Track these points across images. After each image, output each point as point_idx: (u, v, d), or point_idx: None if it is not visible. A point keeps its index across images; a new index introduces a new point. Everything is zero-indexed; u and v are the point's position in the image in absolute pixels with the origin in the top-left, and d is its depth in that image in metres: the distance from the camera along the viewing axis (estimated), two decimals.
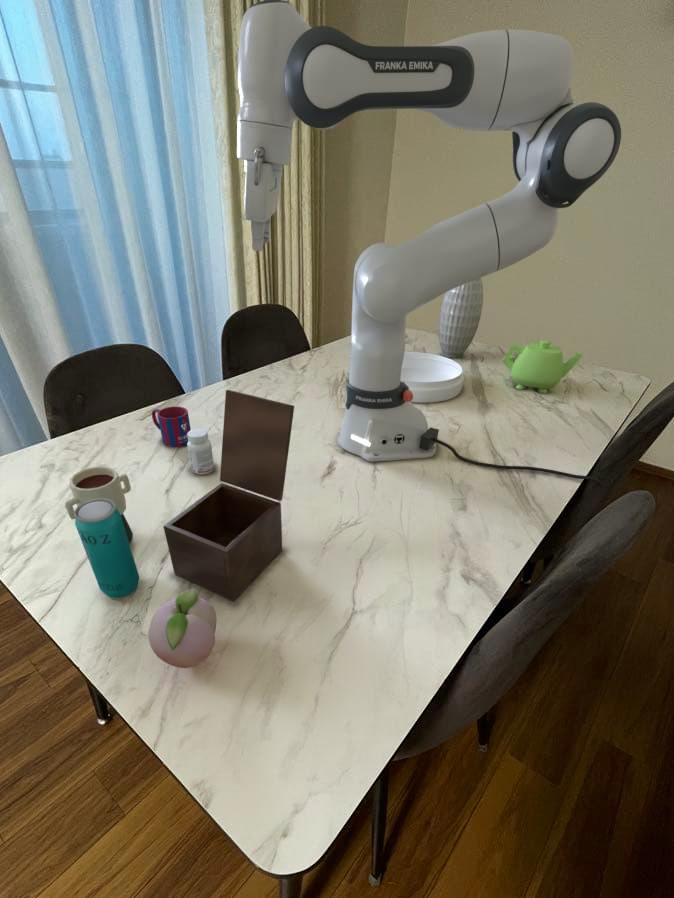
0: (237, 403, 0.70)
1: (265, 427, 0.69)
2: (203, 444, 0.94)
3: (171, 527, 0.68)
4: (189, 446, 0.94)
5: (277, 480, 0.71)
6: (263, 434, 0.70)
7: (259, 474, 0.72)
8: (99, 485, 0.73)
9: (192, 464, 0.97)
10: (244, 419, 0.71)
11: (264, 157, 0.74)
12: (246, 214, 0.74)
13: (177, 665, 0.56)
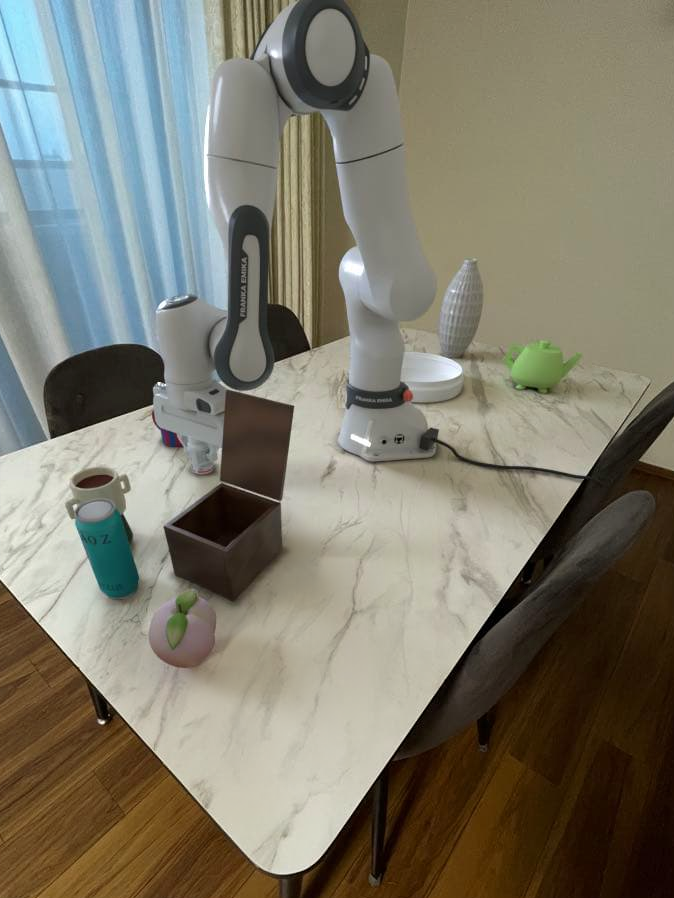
0: (237, 403, 0.70)
1: (265, 427, 0.69)
2: (203, 444, 0.94)
3: (171, 527, 0.68)
4: (189, 446, 0.94)
5: (277, 480, 0.71)
6: (263, 434, 0.70)
7: (259, 474, 0.72)
8: (99, 485, 0.73)
9: (192, 464, 0.97)
10: (244, 419, 0.71)
11: None
12: None
13: (177, 665, 0.56)
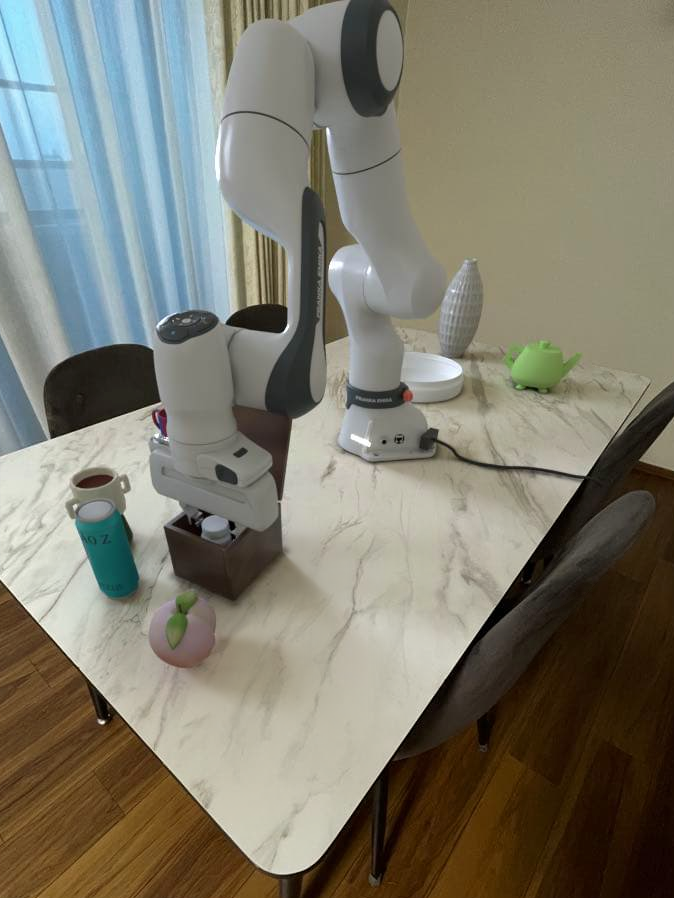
0: None
1: (265, 427, 0.69)
2: (223, 538, 0.70)
3: (171, 527, 0.68)
4: None
5: (277, 480, 0.71)
6: (263, 434, 0.70)
7: None
8: (99, 485, 0.73)
9: None
10: (244, 419, 0.71)
11: None
12: None
13: (177, 665, 0.56)
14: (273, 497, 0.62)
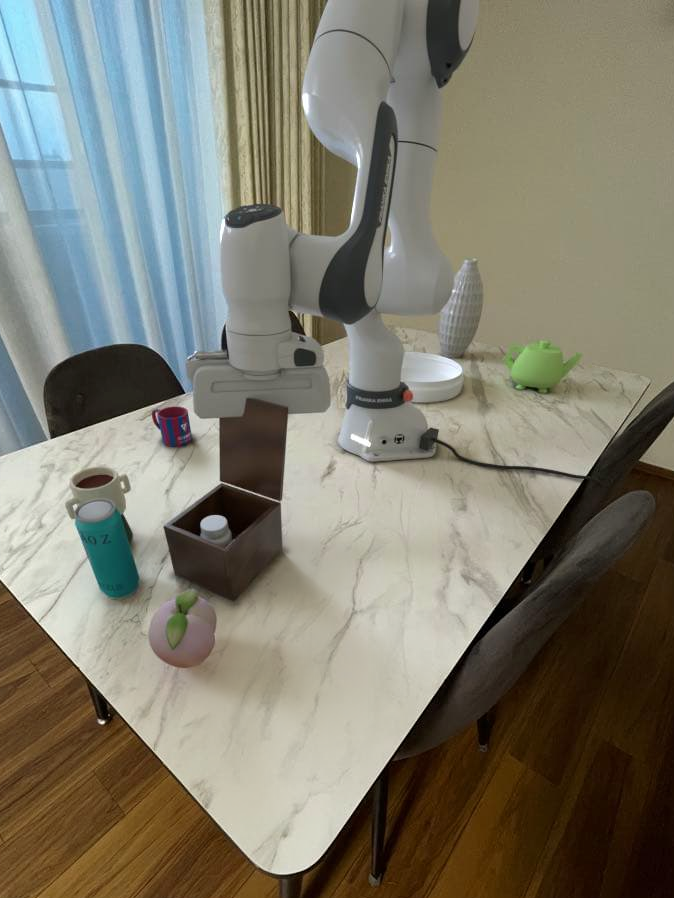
0: None
1: (260, 428, 0.68)
2: (222, 537, 0.70)
3: (171, 527, 0.68)
4: None
5: (276, 481, 0.71)
6: (259, 436, 0.69)
7: (258, 475, 0.72)
8: (99, 485, 0.73)
9: None
10: (239, 421, 0.70)
11: (229, 359, 0.65)
12: None
13: (177, 665, 0.56)
14: None
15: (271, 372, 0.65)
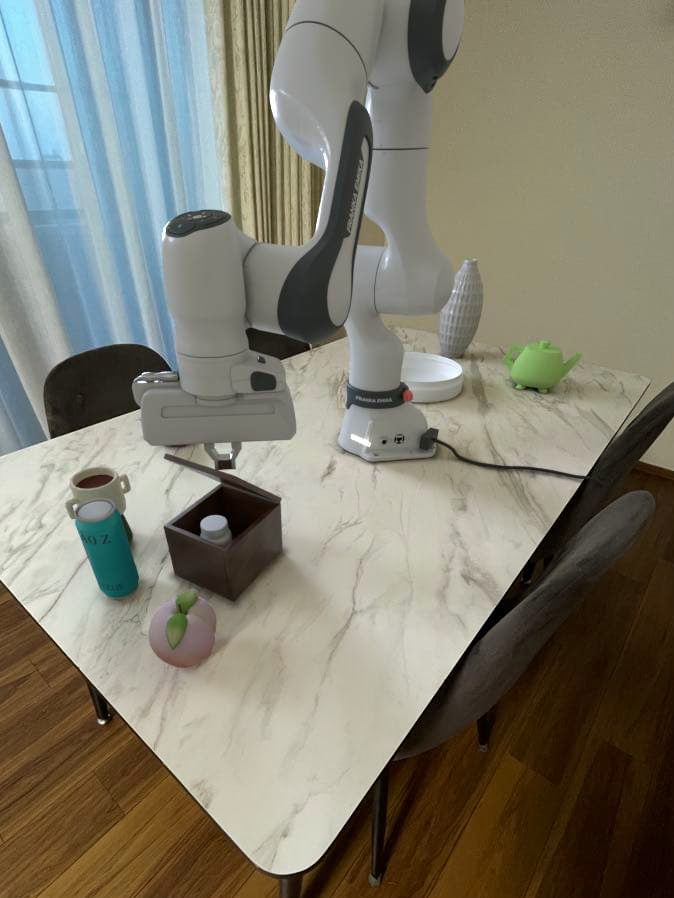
0: (183, 465, 0.64)
1: (223, 480, 0.64)
2: (222, 537, 0.70)
3: (171, 527, 0.68)
4: None
5: (266, 497, 0.70)
6: (227, 482, 0.65)
7: None
8: (99, 485, 0.73)
9: None
10: (200, 472, 0.65)
11: (180, 381, 0.58)
12: None
13: (177, 665, 0.56)
14: None
15: (226, 397, 0.58)
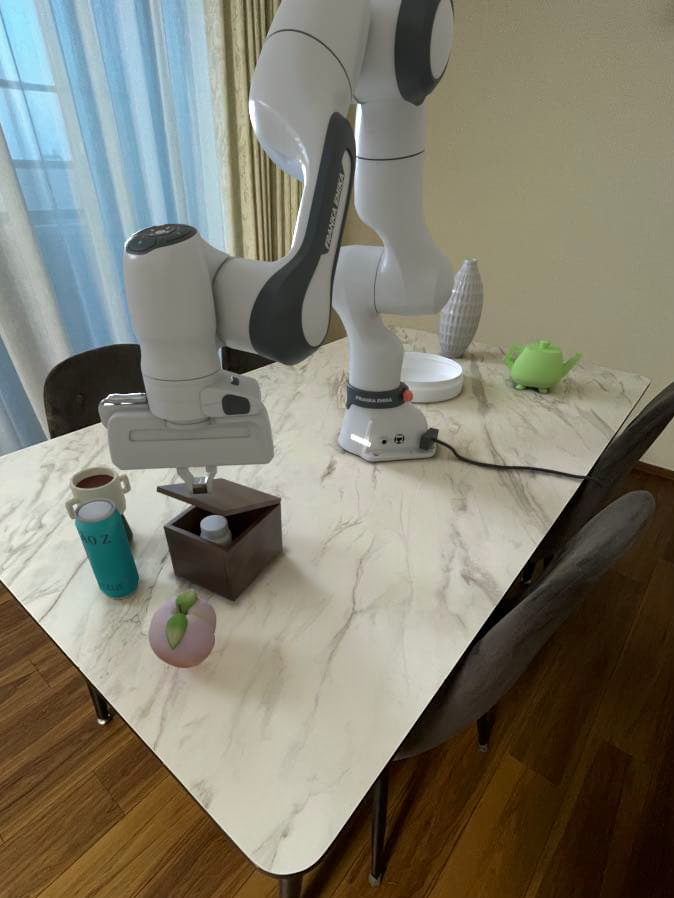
0: None
1: None
2: (222, 537, 0.70)
3: (171, 527, 0.68)
4: None
5: None
6: None
7: None
8: (99, 485, 0.73)
9: None
10: None
11: (148, 404, 0.55)
12: None
13: (177, 665, 0.56)
14: None
15: (197, 420, 0.54)
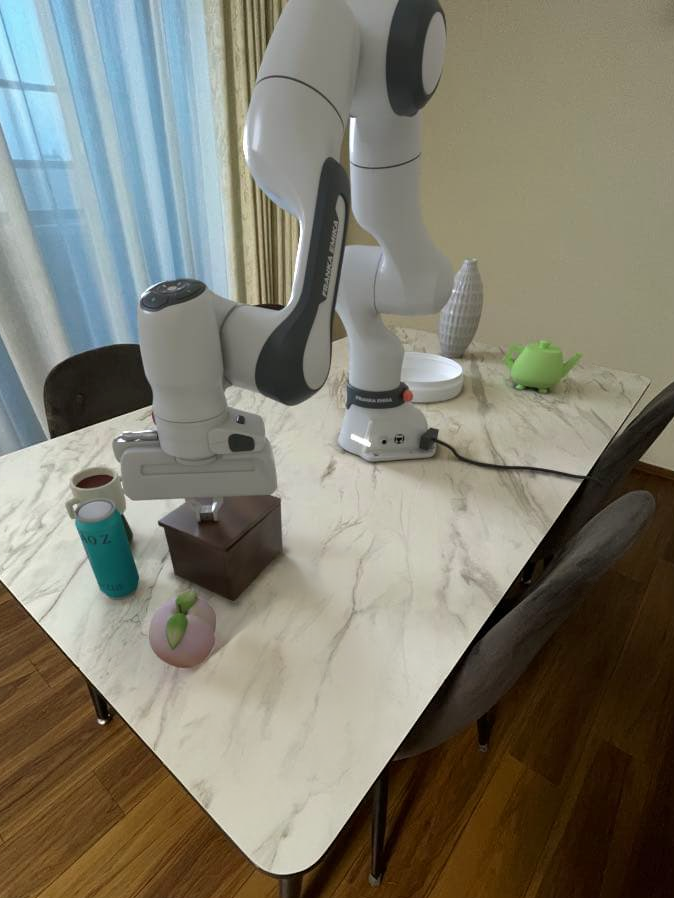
0: None
1: None
2: None
3: None
4: None
5: None
6: None
7: None
8: (99, 485, 0.73)
9: None
10: None
11: (159, 440, 0.58)
12: None
13: (177, 665, 0.56)
14: (273, 457, 0.63)
15: (205, 457, 0.58)
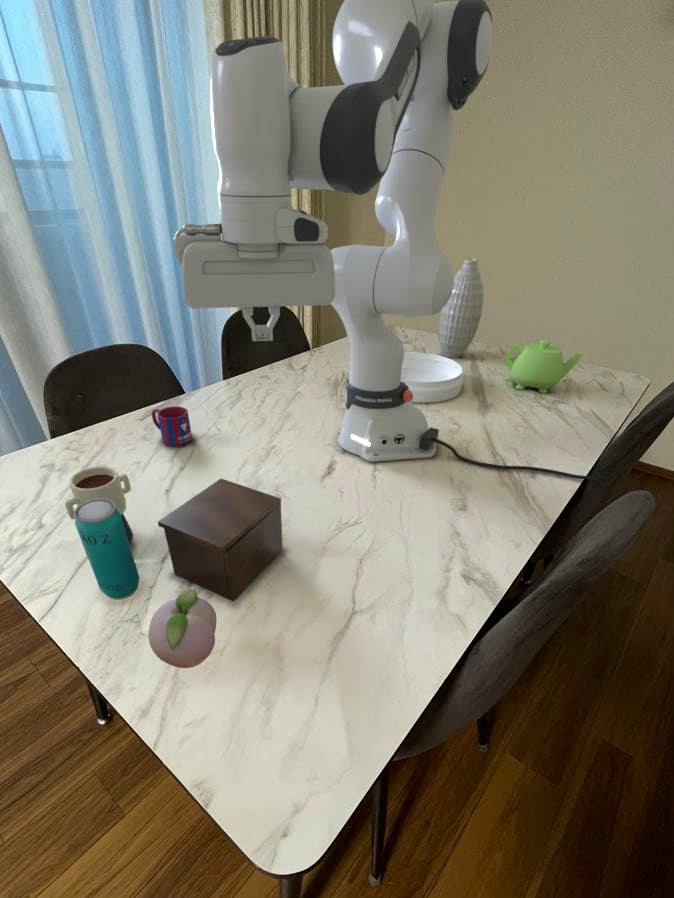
0: None
1: None
2: None
3: None
4: None
5: None
6: None
7: None
8: (99, 485, 0.73)
9: None
10: None
11: (222, 235, 0.58)
12: None
13: (177, 665, 0.56)
14: None
15: (269, 248, 0.58)
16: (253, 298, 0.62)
